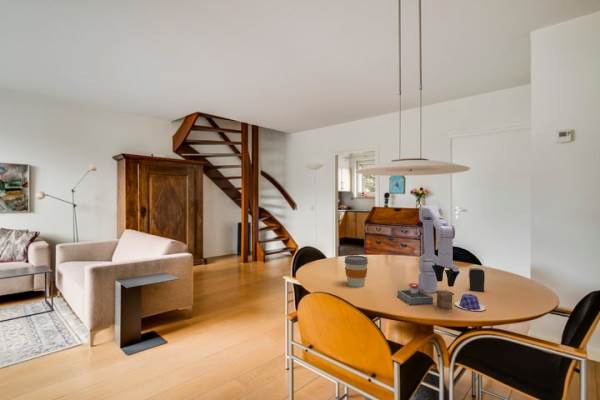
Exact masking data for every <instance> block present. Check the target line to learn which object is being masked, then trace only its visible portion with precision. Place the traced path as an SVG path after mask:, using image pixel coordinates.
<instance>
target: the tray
mask: <svg viewBox="0 0 600 400" xmlns="http://www.w3.org/2000/svg"><path fill="white" fill-rule="evenodd" d="M396 293H397V298H398V299H400V300H402V301H403V302H405V303H406V304H408V305H409V306H419V305H433V303H434V300H433V299H434V297H433V296H431V295H430V294H428V293H426V292H425V291H423V290H421V289H419V288H418V297H415V298H411V297H410V289H399V290H397V292H396Z"/></svg>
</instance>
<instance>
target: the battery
mask: <svg viewBox="0 0 600 400" xmlns="http://www.w3.org/2000/svg"><path fill="white" fill-rule="evenodd" d="M485 275H486V274H485V270H483V269H482V268H476V267H470V268H469V269H468V281H469V283H468V285H469V286H468V287H469V288H468V290H469V291H474V292H485V280H486V279H485V278H486V276H485Z"/></svg>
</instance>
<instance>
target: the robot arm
mask: <svg viewBox="0 0 600 400" xmlns="http://www.w3.org/2000/svg"><path fill="white" fill-rule="evenodd" d="M442 210H443V209H442V207H441V206H440V205H439V204H438V205H420V206H419V208H418V219H419V222H421V223H422V226H423V245H424V247H423V248H424V249H423V251H424V253H423V254H422V255H421V256H419V258H418V271H419V273H418V284H419V287H418V289H419V290H421V291H423V292H424V293H426V294H428V293H429V294H431V293H436V291H440V289H438V282H443V278H444V272H445V275H446V280H447V286H448V287H449V288H453V287H455V281H456V280H457V277H458V275H459V274H460V270H459V266H457V265H456V264H454V262H453V256H454V255H453V252H454V251H453V246H454V245H453V240H455V236H456V229H455V226H454V225H451V224H449V223H448V221H447V220H446V218H445V217H443V216H442V213H443V212H442ZM434 228H435V230H436V231H435V234H436V241H437V242H436V243H437V255H436V254H435V239H434Z"/></svg>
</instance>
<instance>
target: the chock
mask: <svg viewBox="0 0 600 400" xmlns="http://www.w3.org/2000/svg"><path fill="white" fill-rule="evenodd" d="M439 290H440V289H439ZM435 293H436V307H437V308H439V309H441V310H448V309H453V296H454V295H455V293H454V292H452V291H451V290H447V289H446V290H445V289H444V290H443V289H441V290H440V291H436V292H435Z"/></svg>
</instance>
